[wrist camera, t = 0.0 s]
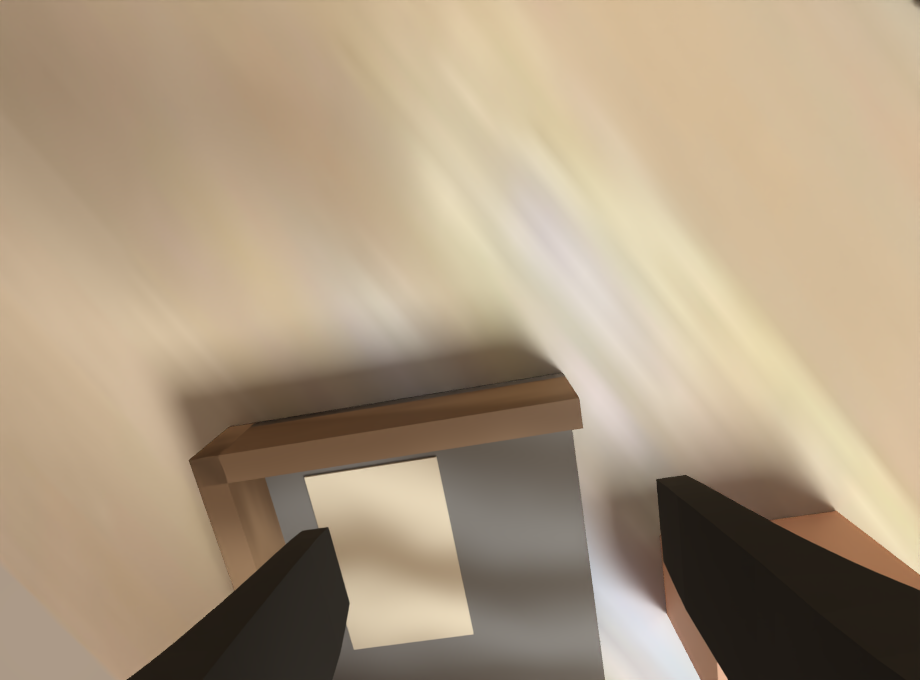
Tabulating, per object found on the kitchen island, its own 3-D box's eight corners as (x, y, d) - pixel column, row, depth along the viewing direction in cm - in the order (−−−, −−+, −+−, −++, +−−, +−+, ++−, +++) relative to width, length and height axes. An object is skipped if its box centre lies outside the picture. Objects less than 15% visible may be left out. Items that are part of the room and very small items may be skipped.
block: (832, 589, 22) (936, 692, 17) (665, 611, 22) (720, 717, 18) (834, 509, 21) (944, 594, 16) (659, 533, 21) (714, 623, 17)
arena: (605, 698, 24) (624, 764, 21) (327, 730, 24) (307, 799, 22) (562, 372, 19) (579, 397, 16) (229, 427, 20) (188, 460, 17)
